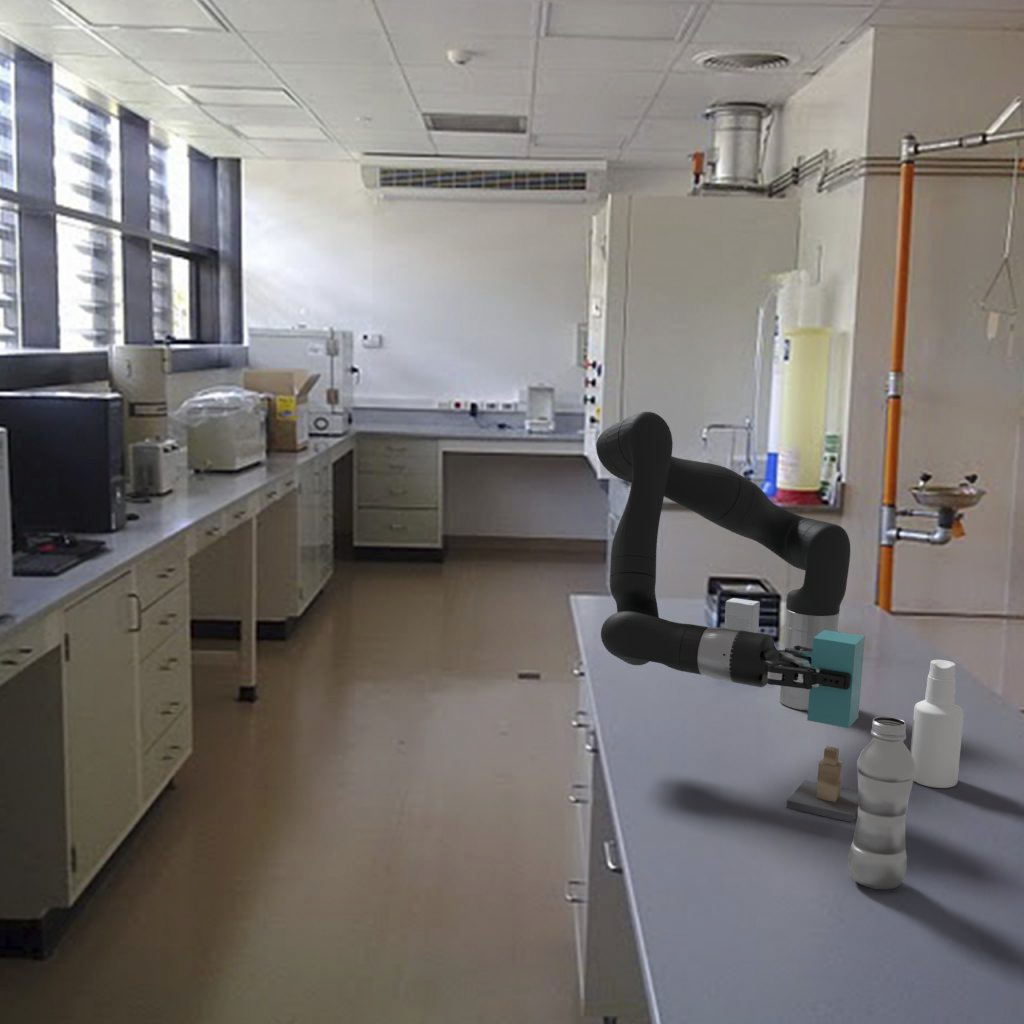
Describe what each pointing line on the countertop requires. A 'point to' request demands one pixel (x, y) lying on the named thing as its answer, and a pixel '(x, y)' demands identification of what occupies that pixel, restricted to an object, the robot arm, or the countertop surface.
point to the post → (826, 791)
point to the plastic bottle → (882, 806)
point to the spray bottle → (937, 729)
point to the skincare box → (742, 615)
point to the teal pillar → (844, 657)
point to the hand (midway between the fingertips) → (855, 676)
